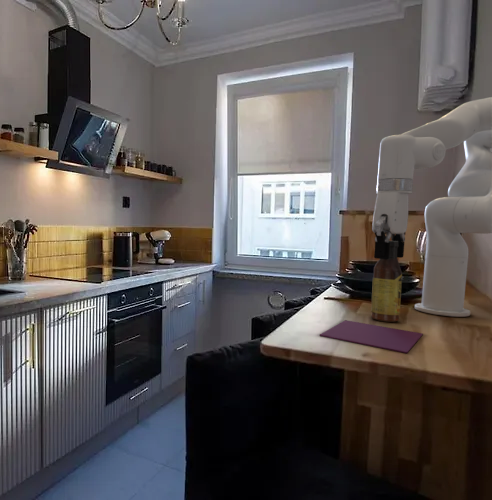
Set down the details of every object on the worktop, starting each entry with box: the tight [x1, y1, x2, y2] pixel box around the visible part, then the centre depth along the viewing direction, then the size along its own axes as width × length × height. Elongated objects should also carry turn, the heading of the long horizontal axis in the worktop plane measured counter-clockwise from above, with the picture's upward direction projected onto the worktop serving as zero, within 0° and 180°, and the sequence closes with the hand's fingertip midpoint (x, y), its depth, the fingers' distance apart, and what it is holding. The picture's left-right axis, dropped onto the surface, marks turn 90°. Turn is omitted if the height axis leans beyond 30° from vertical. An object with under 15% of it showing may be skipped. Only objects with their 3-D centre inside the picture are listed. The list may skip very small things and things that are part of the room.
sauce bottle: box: [370, 240, 403, 323], centre depth 105 cm, size 7×6×20 cm
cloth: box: [319, 319, 424, 354], centre depth 91 cm, size 18×16×1 cm
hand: (388, 257), depth 105 cm, fingers open, 8 cm apart
